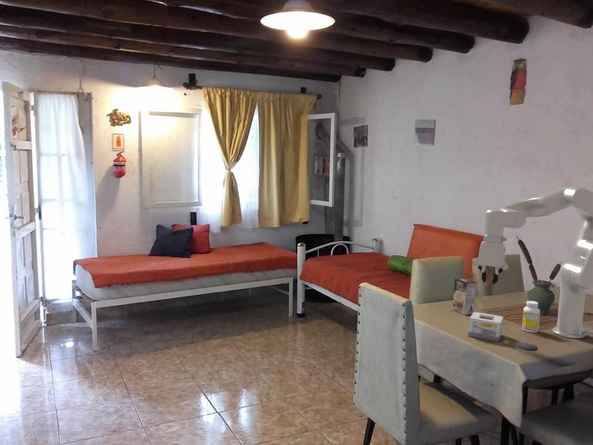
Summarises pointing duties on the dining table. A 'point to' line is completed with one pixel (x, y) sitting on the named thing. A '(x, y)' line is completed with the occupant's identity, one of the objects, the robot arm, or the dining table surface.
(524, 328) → the supplement bottle
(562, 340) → the dining table surface
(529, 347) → the mat
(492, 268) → the brown wooden rod
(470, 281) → the coffee box
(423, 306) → the dining table surface
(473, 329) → the white hollow box
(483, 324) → the orange hemisphere
